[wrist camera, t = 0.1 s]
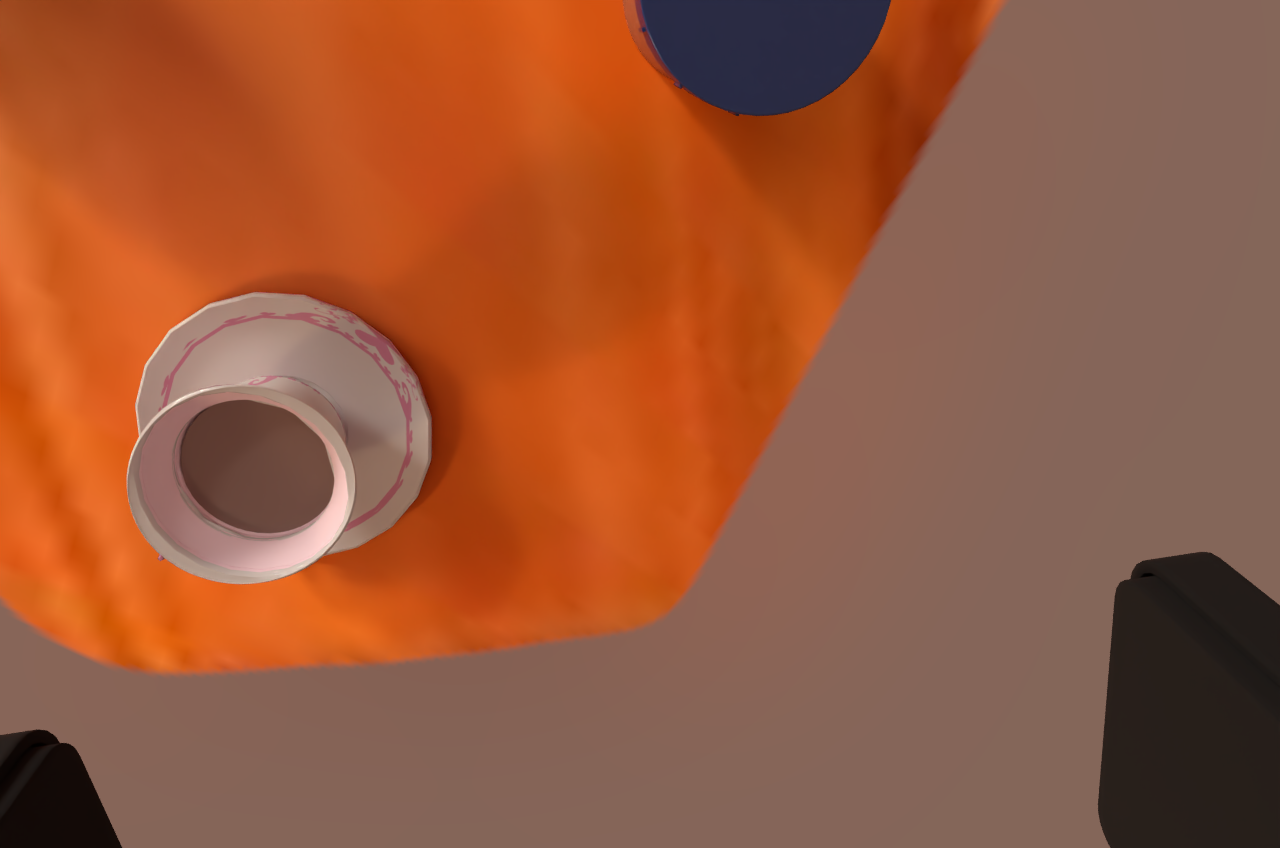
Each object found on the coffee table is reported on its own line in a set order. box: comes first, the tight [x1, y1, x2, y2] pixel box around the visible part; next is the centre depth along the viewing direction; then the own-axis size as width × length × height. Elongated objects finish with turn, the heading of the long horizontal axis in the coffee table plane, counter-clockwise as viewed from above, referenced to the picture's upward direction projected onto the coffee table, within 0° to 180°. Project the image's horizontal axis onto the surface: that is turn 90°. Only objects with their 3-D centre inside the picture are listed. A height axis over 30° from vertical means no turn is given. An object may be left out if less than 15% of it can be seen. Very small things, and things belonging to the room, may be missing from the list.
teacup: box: [127, 292, 432, 584], centre depth 37 cm, size 12×12×6 cm
